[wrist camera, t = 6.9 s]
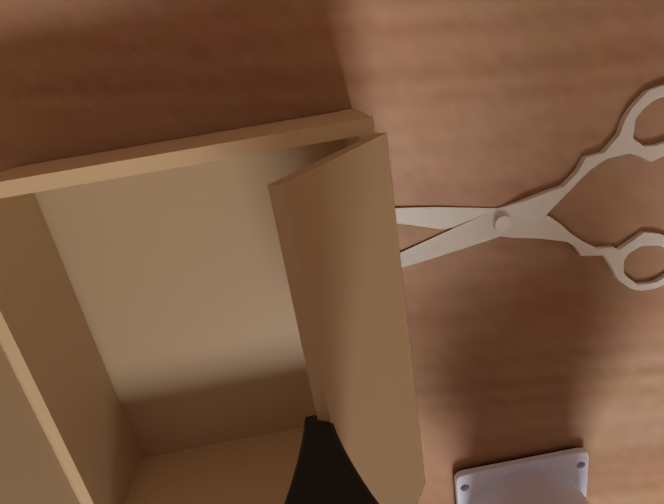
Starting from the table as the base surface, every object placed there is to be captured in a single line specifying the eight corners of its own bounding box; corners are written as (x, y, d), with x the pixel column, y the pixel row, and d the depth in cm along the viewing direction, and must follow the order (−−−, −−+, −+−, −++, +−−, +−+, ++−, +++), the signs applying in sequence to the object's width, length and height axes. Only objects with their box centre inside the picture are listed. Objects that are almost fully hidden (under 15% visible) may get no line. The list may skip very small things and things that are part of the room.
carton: (393, 410, 25) (417, 487, 20) (138, 459, 24) (103, 548, 20) (352, 108, 19) (372, 117, 14) (17, 166, 19) (-74, 194, 14)
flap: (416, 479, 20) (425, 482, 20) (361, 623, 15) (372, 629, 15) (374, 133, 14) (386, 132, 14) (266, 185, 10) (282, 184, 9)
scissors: (708, 279, 23) (326, 353, 23) (695, 273, 24) (324, 345, 23) (742, 57, 19) (283, 139, 19) (726, 58, 20) (283, 137, 19)
